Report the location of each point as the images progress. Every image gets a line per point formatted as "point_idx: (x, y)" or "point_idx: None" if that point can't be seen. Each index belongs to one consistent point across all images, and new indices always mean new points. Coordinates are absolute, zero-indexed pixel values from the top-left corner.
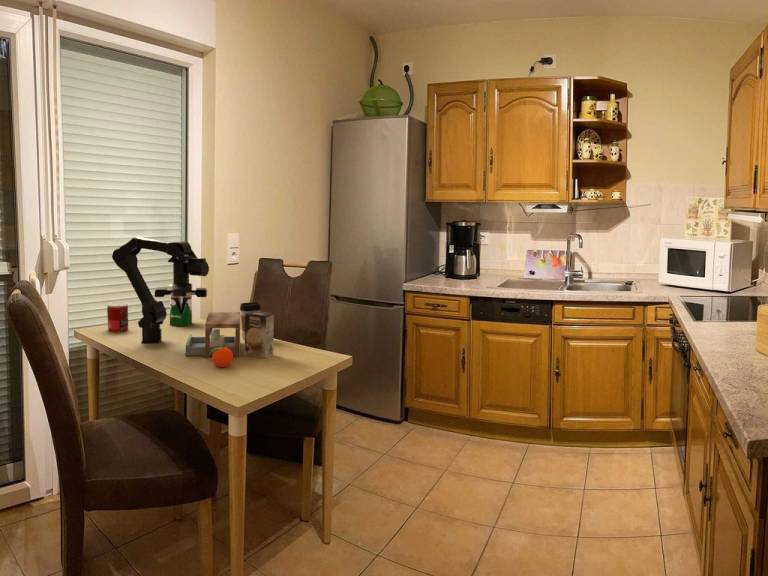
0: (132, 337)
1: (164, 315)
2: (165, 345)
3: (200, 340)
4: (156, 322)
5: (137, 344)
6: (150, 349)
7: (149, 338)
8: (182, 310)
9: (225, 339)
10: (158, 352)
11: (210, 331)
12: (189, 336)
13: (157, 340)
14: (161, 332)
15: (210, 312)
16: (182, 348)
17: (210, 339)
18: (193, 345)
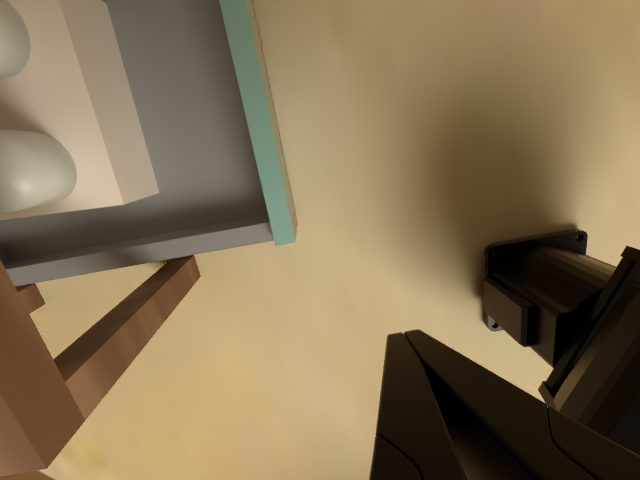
0: None
1: (591, 410)
2: (437, 198)
3: (221, 226)
4: (614, 304)
5: (598, 202)
6: (511, 90)
7: (555, 250)
8: (404, 369)
9: (54, 257)
10: (449, 11)
11: (142, 295)
12: (275, 174)
13: (499, 267)
14: (506, 323)
15: (15, 463)
16: (319, 137)
17: (21, 18)
18: (242, 132)
